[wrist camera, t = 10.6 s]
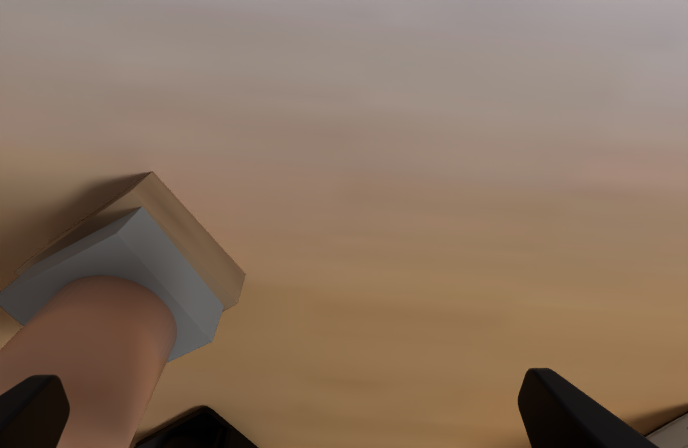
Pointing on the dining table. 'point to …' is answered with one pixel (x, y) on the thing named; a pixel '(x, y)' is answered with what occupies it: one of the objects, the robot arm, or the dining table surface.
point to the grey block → (129, 263)
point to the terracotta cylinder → (96, 356)
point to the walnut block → (173, 222)
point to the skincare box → (672, 434)
